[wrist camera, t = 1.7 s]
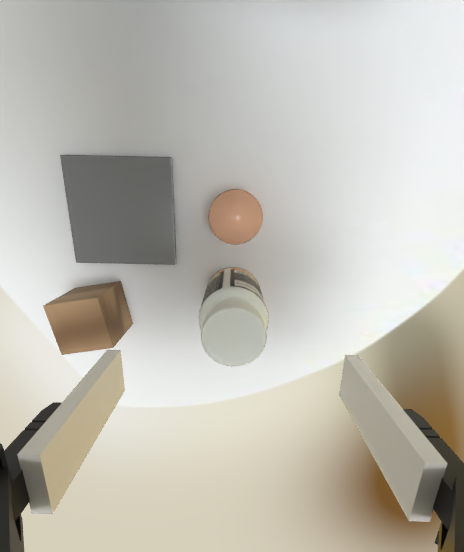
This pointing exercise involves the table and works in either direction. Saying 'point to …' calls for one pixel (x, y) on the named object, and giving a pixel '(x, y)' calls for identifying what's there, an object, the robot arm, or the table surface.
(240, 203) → the peach dome knob
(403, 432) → the robot arm
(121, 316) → the walnut block
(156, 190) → the coaster
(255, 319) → the pill bottle
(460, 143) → the table surface
